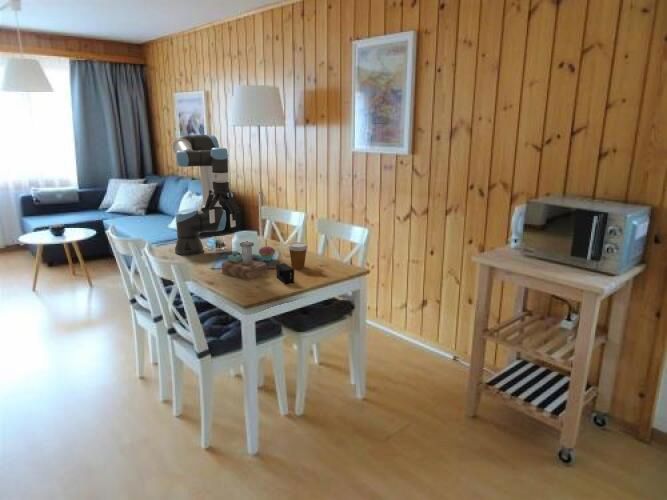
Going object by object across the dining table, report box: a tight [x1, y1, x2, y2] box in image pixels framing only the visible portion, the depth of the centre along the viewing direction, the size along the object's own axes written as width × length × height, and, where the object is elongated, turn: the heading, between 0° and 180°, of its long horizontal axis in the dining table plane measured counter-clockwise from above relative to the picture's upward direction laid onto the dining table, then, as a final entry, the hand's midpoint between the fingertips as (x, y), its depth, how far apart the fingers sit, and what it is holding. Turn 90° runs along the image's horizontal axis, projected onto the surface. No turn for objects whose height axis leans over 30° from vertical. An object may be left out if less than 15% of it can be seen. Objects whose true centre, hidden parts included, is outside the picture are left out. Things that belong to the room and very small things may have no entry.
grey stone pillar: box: [240, 241, 255, 266], centre depth 219 cm, size 5×5×16 cm
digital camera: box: [275, 262, 295, 285], centre depth 213 cm, size 10×5×7 cm, turn 31°
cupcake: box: [258, 239, 276, 262], centre depth 242 cm, size 9×8×12 cm
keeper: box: [227, 253, 242, 262], centre depth 224 cm, size 5×4×3 cm
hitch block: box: [221, 259, 268, 281], centre depth 222 cm, size 18×12×6 cm, turn 58°
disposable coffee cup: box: [288, 242, 308, 270], centre depth 231 cm, size 10×10×12 cm
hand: (222, 224), depth 223 cm, fingers open, 13 cm apart
